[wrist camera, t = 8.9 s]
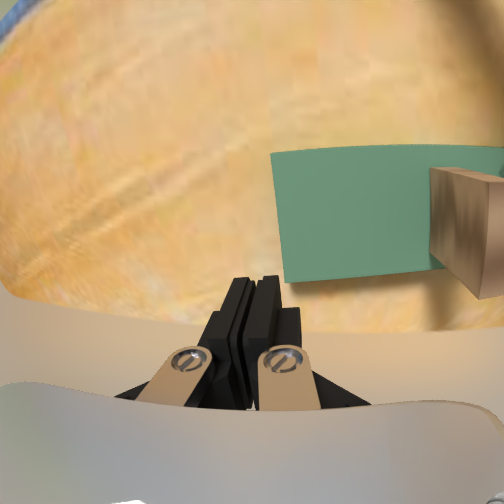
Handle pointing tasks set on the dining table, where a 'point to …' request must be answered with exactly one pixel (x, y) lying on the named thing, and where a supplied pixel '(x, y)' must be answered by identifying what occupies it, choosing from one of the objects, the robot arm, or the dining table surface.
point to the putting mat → (363, 207)
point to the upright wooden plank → (469, 227)
